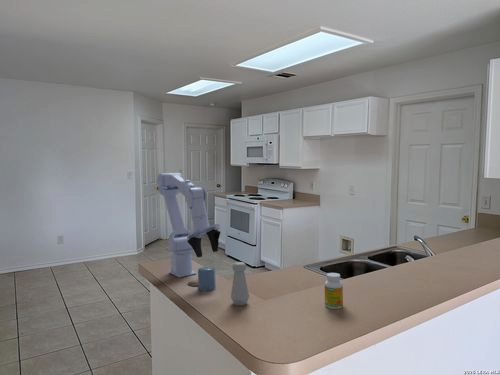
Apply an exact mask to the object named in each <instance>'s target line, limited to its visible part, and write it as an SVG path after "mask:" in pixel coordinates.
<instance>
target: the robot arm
mask: <svg viewBox="0 0 500 375" xmlns="http://www.w3.org/2000/svg"><path fill="white" fill-rule="evenodd" d="M156 177H157V178H156V184H157V187H158V189H157V190H158V191H159V194H160V195H162V196H163V198H164V201H165V205H166V209H167V213H168V216H169V220H170V224H171V228H172V232H171V233H170V234H169V235H168V247H169V251H170V252H171V255H170V270H169V271H168V273H169V274H171V275H173V276H176V277H177V278H183V277H187V276H192V275H196V274H197V272H196V271H194V270H193V257H192V256H193V255H192V254H193V252H194V253H195V255H196V257H197V258H202V257H203V252H202V251H203V250H202V238H201V237H202V236H205V235H207V237H208V240H209V242H210V245H211V250H212V252H213V253H217V252H218V251H219V241H220V235H221V231H220V230H221V227H220V223H215V224H212V225H210V222H209V218H208V212H207V208H206V204H205V201H206V195H207V194H206V190H205V188H204V186H199V187H198V186H196V185H195V184H194V183H192V182H191V180H189V179H184V178H183V173H181V172H163V173H162V172H159V173H158V175H157V176H156ZM179 194H182V195H183V196H184V199H185V202H186V203H187V207H188V208H189V211H190V216H191V220H192V225H193V226H192V227H193V228H194V230H193V231H191V230H190V229H188V228H186V227H185V224H184V221H183V217H182V214H181V213H182V212H181V210H180V206H179V203H178V199H177V195H179Z"/></svg>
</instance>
